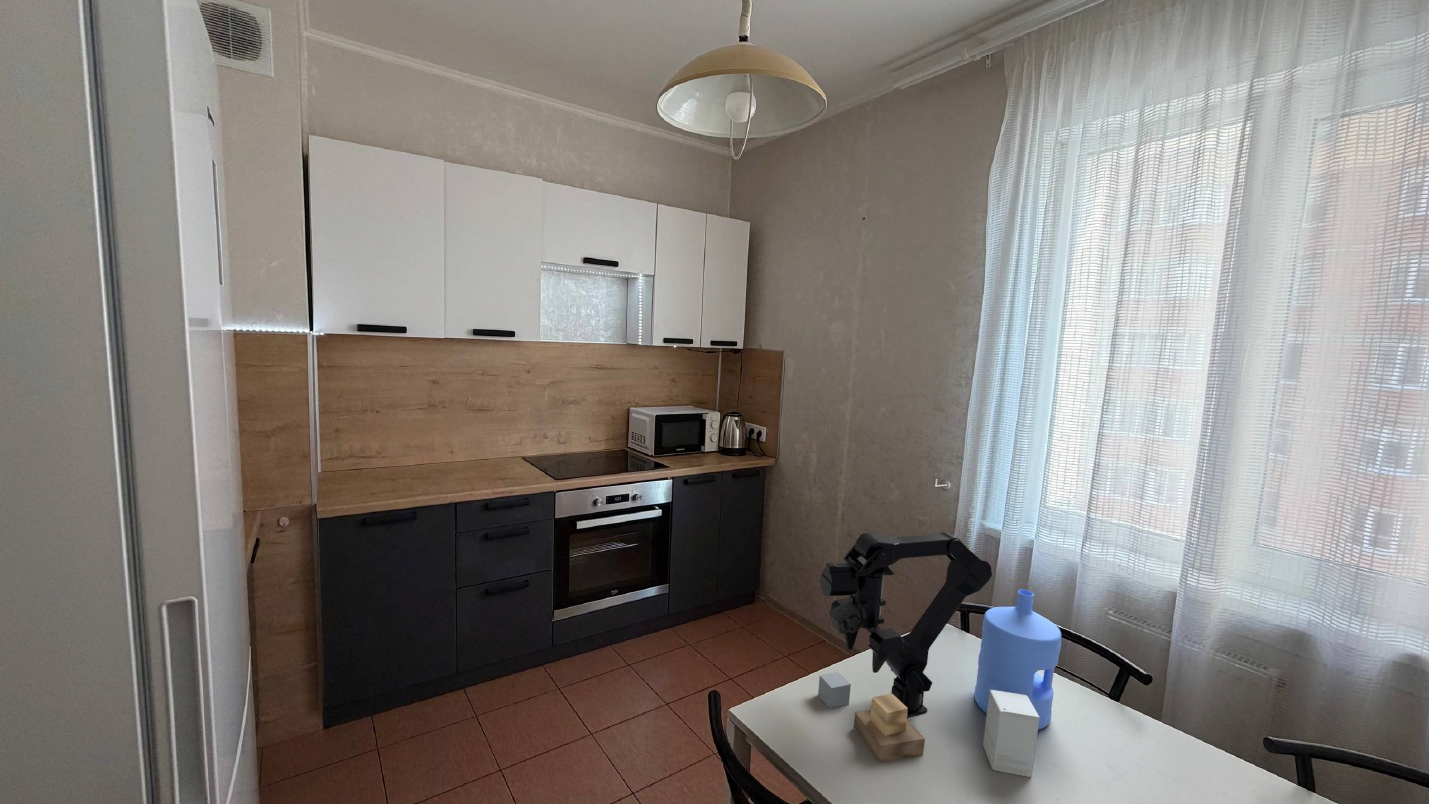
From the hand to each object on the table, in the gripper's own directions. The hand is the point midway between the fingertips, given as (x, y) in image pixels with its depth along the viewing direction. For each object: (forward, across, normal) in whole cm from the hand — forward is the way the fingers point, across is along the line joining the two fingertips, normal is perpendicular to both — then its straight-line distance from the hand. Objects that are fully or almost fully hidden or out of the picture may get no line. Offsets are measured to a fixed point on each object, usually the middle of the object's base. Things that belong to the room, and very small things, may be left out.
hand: (862, 660), depth 126 cm
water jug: (+12, +10, +35) cm, 38 cm away
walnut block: (+12, +10, 0) cm, 16 cm away
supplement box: (+12, +22, +20) cm, 32 cm away
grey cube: (+12, -5, -3) cm, 13 cm away
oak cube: (+8, +10, 0) cm, 13 cm away
